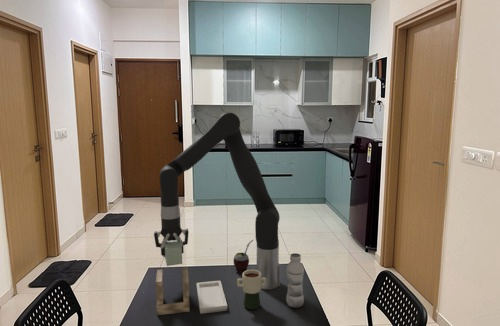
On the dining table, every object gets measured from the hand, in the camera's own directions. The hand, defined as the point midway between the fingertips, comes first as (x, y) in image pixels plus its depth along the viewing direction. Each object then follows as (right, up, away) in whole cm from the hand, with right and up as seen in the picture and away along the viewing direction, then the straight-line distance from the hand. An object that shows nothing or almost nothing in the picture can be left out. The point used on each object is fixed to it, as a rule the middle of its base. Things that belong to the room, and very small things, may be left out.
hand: (172, 255), depth 147 cm
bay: (+3, -16, -11) cm, 20 cm away
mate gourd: (+28, -12, +18) cm, 36 cm away
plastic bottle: (+49, -16, -11) cm, 53 cm away
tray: (+16, -15, -6) cm, 23 cm away
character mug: (+32, -16, -12) cm, 38 cm away
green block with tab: (0, -1, +2) cm, 2 cm away
